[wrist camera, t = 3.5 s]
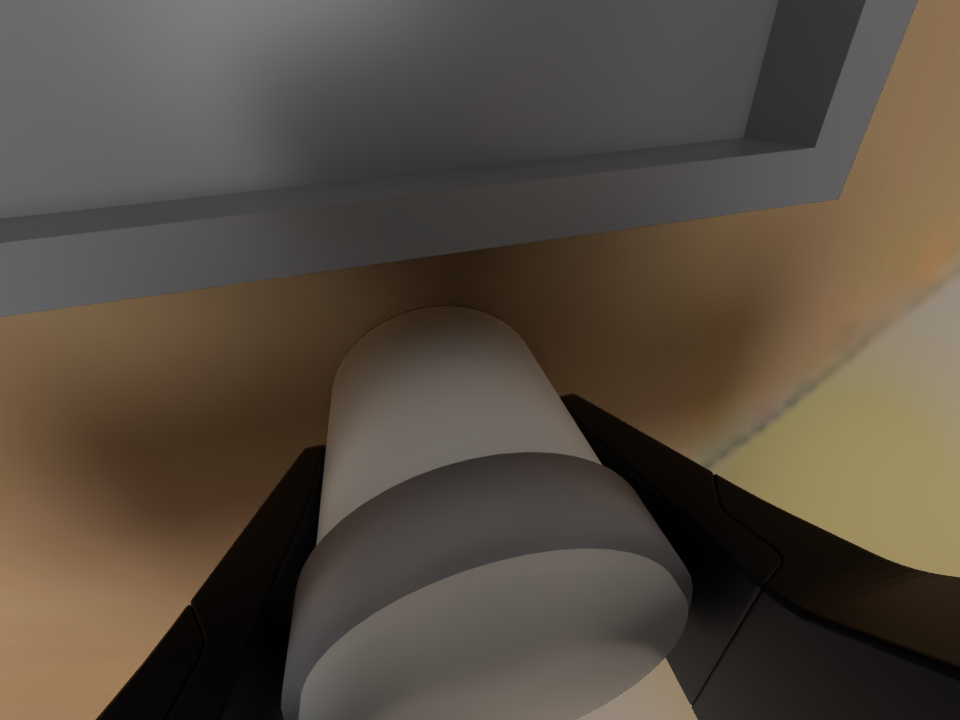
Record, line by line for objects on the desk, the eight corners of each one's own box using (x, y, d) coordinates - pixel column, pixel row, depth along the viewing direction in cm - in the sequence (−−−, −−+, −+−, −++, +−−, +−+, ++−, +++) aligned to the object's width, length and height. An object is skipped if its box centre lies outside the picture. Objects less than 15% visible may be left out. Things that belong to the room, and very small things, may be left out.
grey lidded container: (546, 279, 9) (757, 501, 4) (541, 453, 12) (661, 699, 7) (289, 320, 8) (185, 653, 3) (352, 495, 11) (344, 805, 6)
